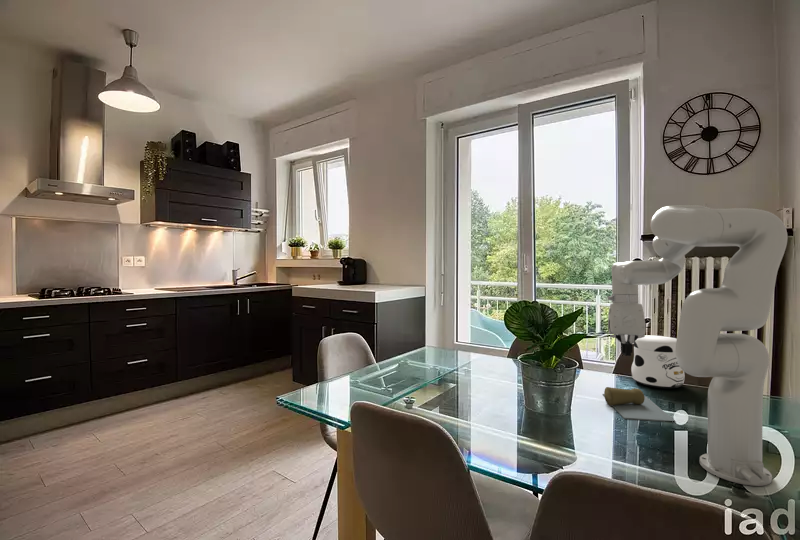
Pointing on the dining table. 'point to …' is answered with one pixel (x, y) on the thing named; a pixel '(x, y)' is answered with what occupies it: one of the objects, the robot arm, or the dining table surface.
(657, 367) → the milk container
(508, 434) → the dining table surface
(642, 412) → the mat
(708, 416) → the robot arm
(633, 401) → the cork
